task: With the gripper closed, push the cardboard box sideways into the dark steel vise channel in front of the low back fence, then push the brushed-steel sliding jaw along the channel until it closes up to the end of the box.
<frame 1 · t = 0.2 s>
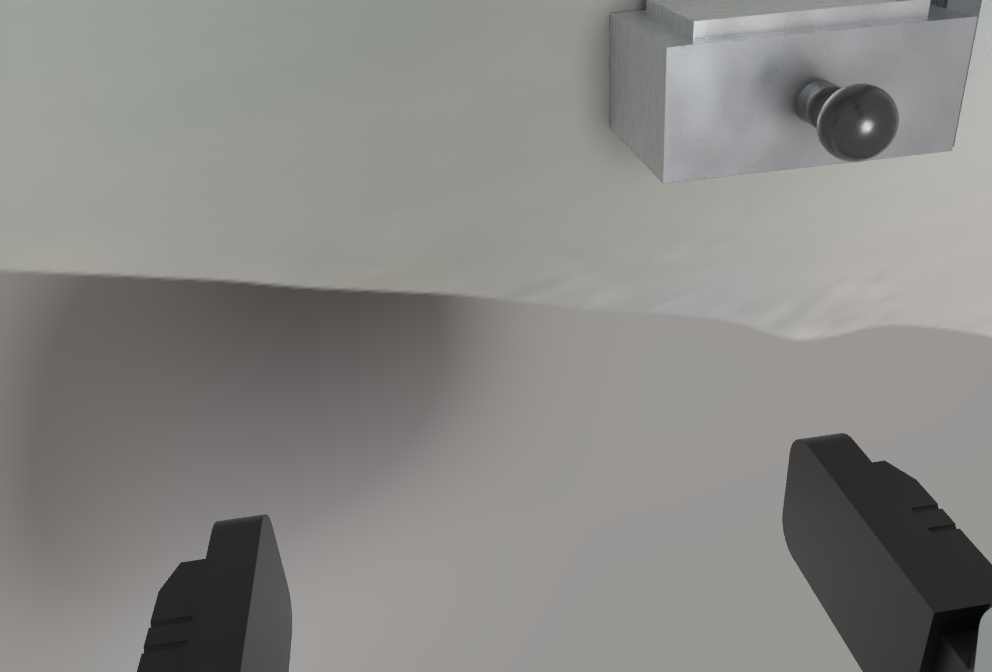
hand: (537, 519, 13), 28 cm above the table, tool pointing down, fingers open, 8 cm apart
sliding jaw: (795, 82, 34), point 6 cm above the table, slide at 0.0 cm
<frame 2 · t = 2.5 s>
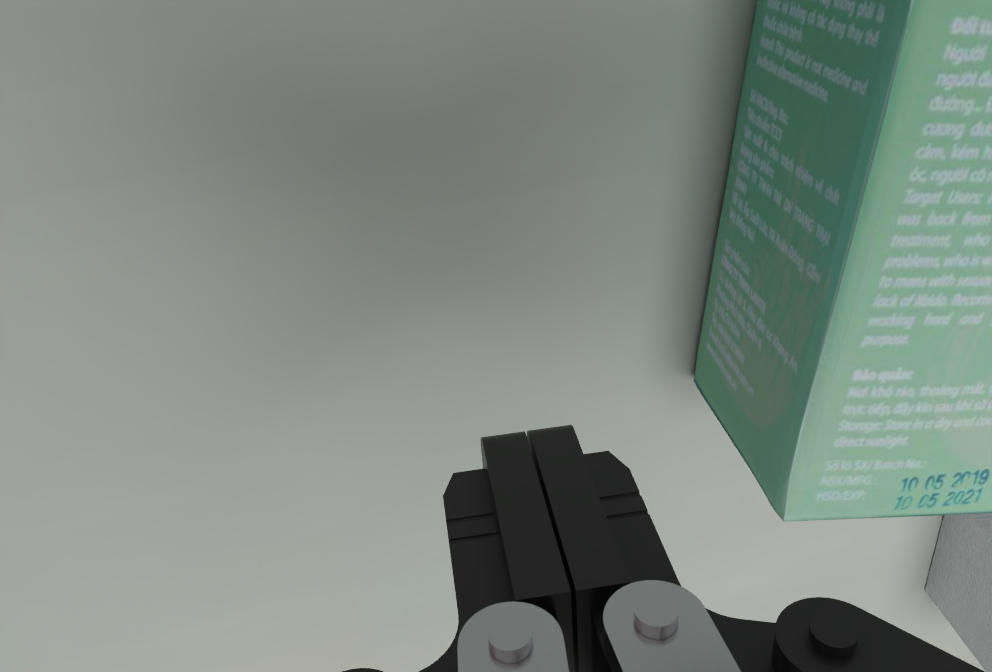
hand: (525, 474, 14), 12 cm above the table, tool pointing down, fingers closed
box: (837, 171, 25), on the table
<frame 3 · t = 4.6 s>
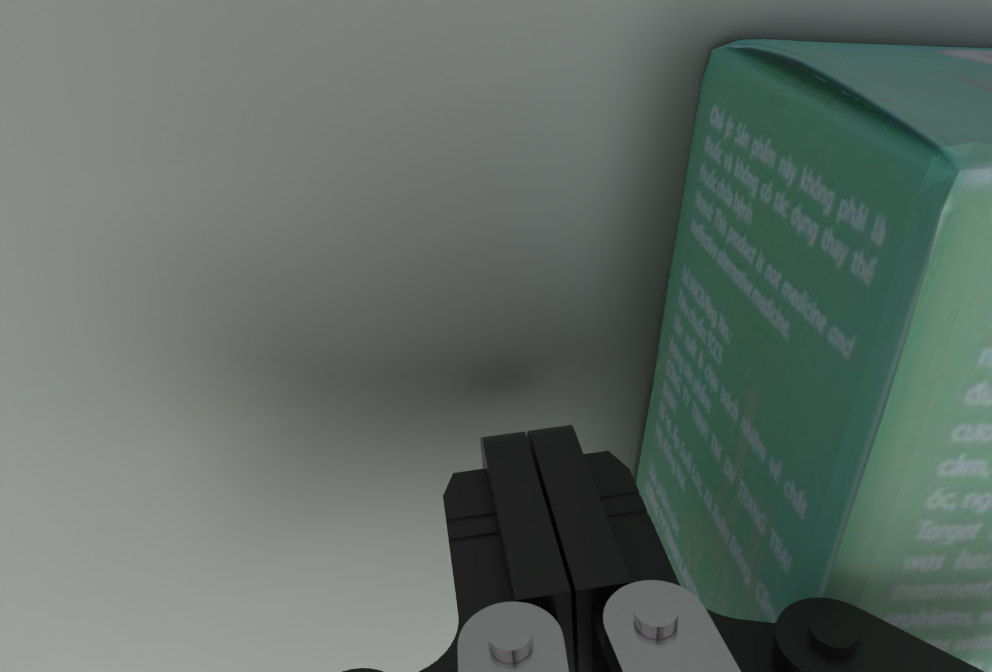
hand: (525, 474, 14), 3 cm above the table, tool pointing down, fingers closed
box: (811, 359, 18), on the table, touching gripper
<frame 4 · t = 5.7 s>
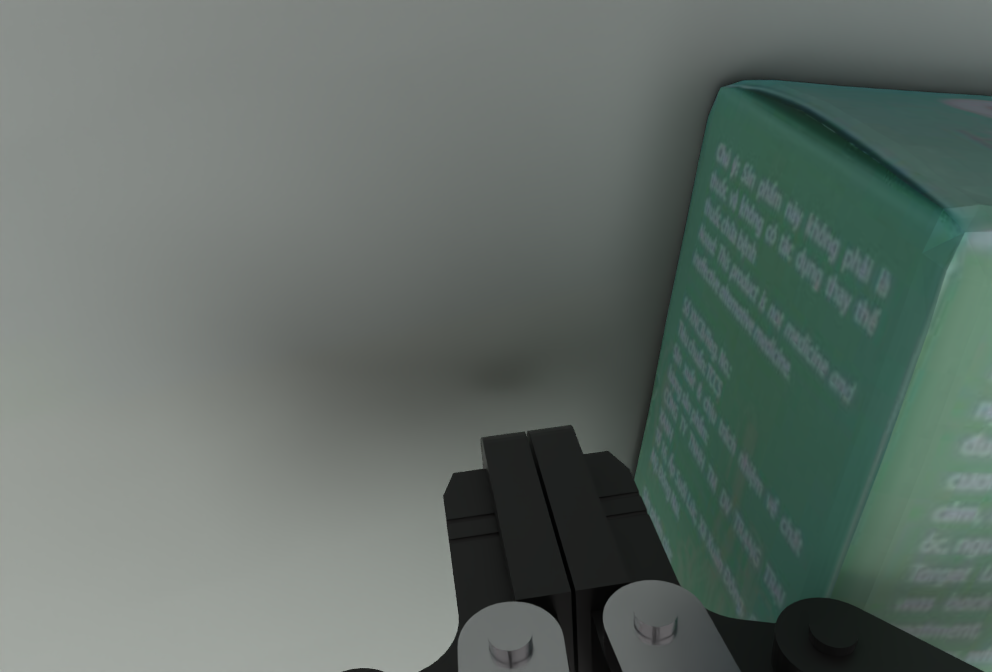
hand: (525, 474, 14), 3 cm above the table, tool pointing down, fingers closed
box: (805, 389, 18), on the table, touching gripper
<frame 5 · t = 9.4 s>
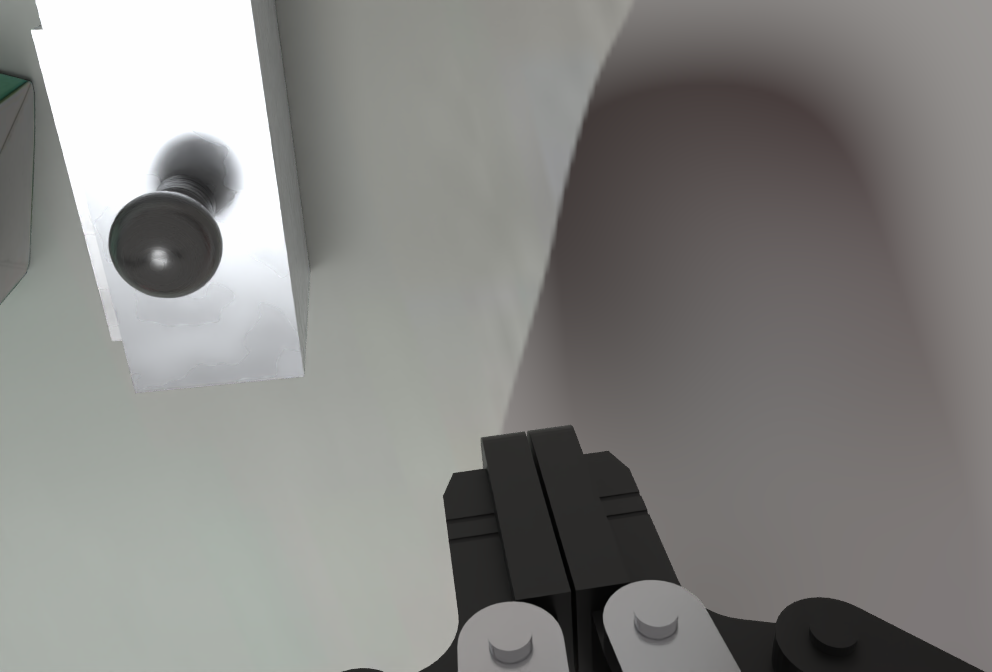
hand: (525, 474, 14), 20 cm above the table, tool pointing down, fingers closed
sliding jaw: (183, 182, 25), point 6 cm above the table, slide at 0.0 cm
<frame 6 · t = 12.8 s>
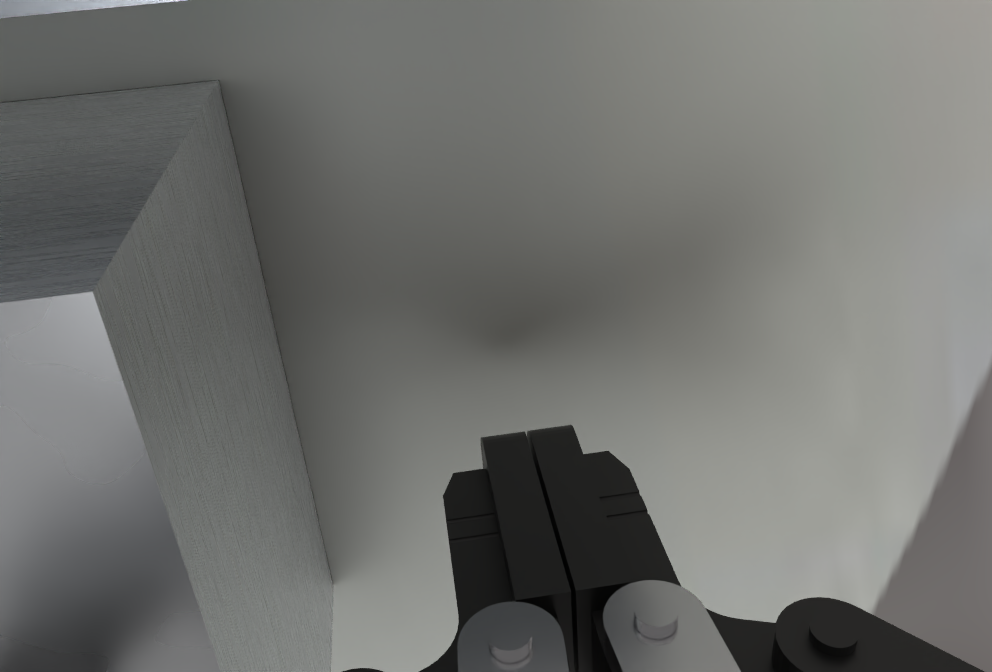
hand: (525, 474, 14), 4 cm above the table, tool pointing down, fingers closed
sliding jaw: (44, 641, 12), point 6 cm above the table, slide at 5.2 cm, touching hand
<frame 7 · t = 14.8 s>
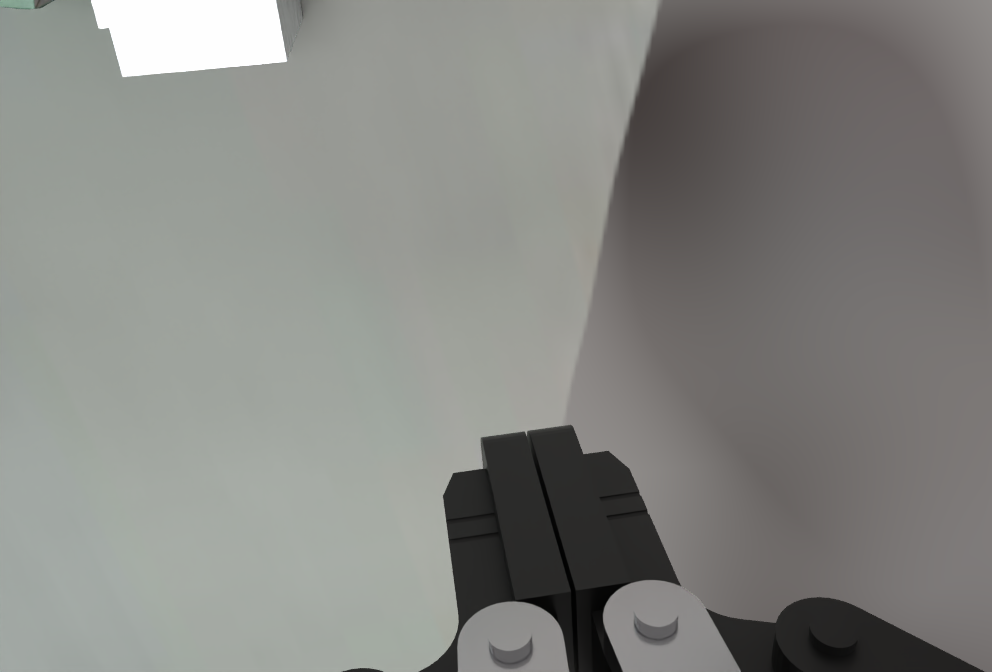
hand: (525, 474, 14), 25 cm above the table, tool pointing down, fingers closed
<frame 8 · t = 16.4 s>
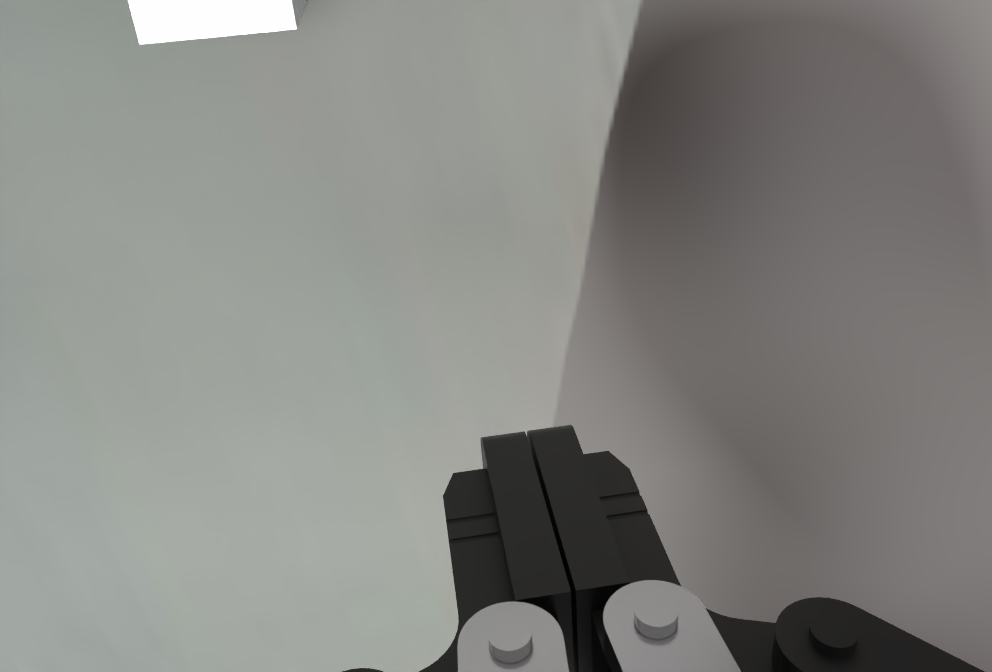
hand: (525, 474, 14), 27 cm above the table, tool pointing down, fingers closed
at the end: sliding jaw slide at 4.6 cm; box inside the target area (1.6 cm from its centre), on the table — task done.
